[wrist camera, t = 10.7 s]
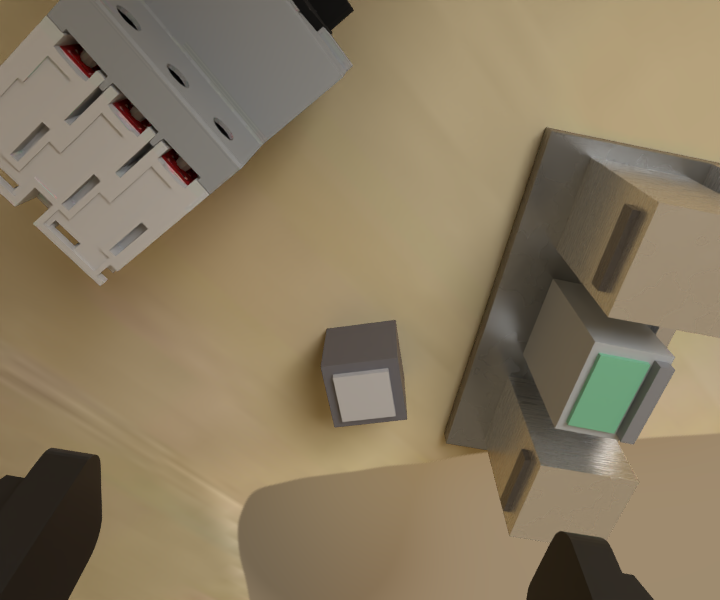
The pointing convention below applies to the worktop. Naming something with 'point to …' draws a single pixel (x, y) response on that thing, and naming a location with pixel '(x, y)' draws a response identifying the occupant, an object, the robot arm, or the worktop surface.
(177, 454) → the worktop surface
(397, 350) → the block
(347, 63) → the circuit breaker
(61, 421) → the worktop surface
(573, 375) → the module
